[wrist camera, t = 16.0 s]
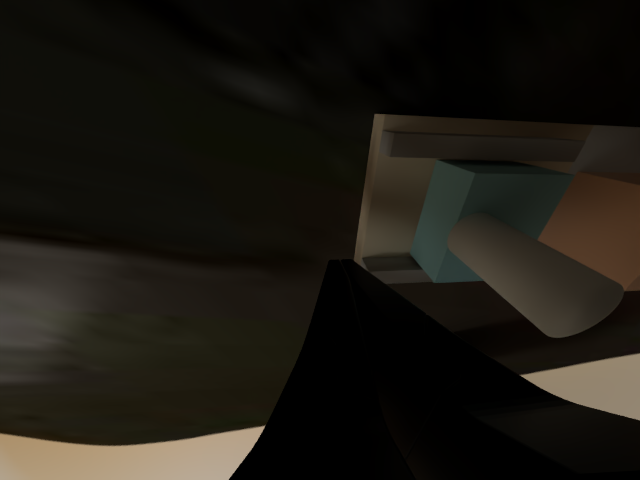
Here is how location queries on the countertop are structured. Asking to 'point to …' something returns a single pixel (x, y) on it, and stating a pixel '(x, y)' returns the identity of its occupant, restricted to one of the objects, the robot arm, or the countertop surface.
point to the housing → (600, 225)
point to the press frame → (471, 145)
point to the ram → (509, 243)
